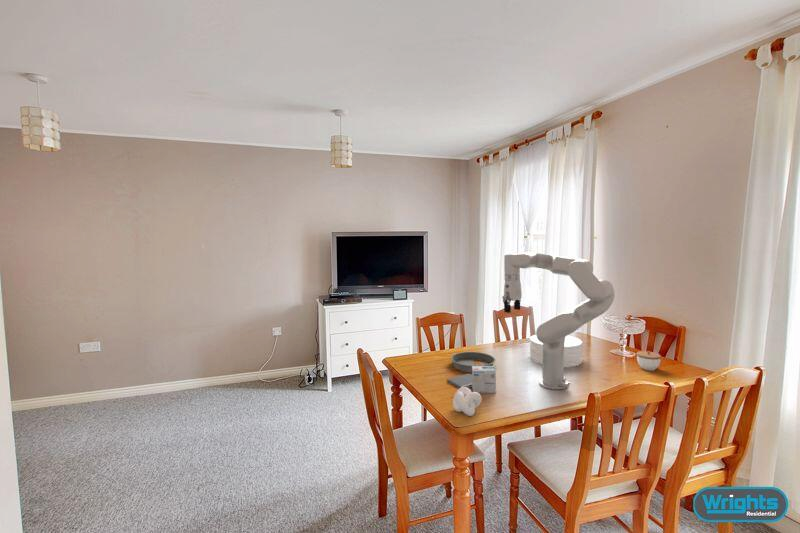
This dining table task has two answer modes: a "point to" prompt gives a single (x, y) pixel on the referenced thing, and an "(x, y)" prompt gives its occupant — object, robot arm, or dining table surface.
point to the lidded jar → (648, 360)
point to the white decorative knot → (466, 401)
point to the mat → (461, 381)
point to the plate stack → (570, 351)
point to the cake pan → (470, 360)
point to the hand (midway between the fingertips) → (512, 311)
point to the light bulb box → (484, 379)
